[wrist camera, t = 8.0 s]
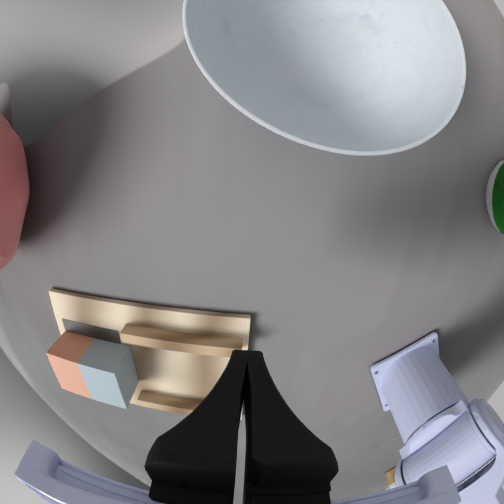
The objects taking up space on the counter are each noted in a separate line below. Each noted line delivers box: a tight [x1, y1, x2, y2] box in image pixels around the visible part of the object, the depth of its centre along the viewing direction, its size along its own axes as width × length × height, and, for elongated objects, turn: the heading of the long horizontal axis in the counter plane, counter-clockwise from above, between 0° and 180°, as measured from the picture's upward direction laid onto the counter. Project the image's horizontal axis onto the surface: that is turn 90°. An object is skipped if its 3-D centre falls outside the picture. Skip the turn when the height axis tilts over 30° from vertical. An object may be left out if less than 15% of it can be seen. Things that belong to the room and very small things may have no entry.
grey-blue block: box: [77, 338, 139, 409], centre depth 22 cm, size 4×5×4 cm
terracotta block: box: [46, 331, 95, 399], centre depth 22 cm, size 4×5×4 cm
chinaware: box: [183, 0, 466, 156], centre depth 12 cm, size 15×15×8 cm
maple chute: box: [49, 288, 251, 420], centre depth 24 cm, size 20×14×2 cm
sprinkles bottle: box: [385, 467, 397, 489], centre depth 29 cm, size 5×5×13 cm
